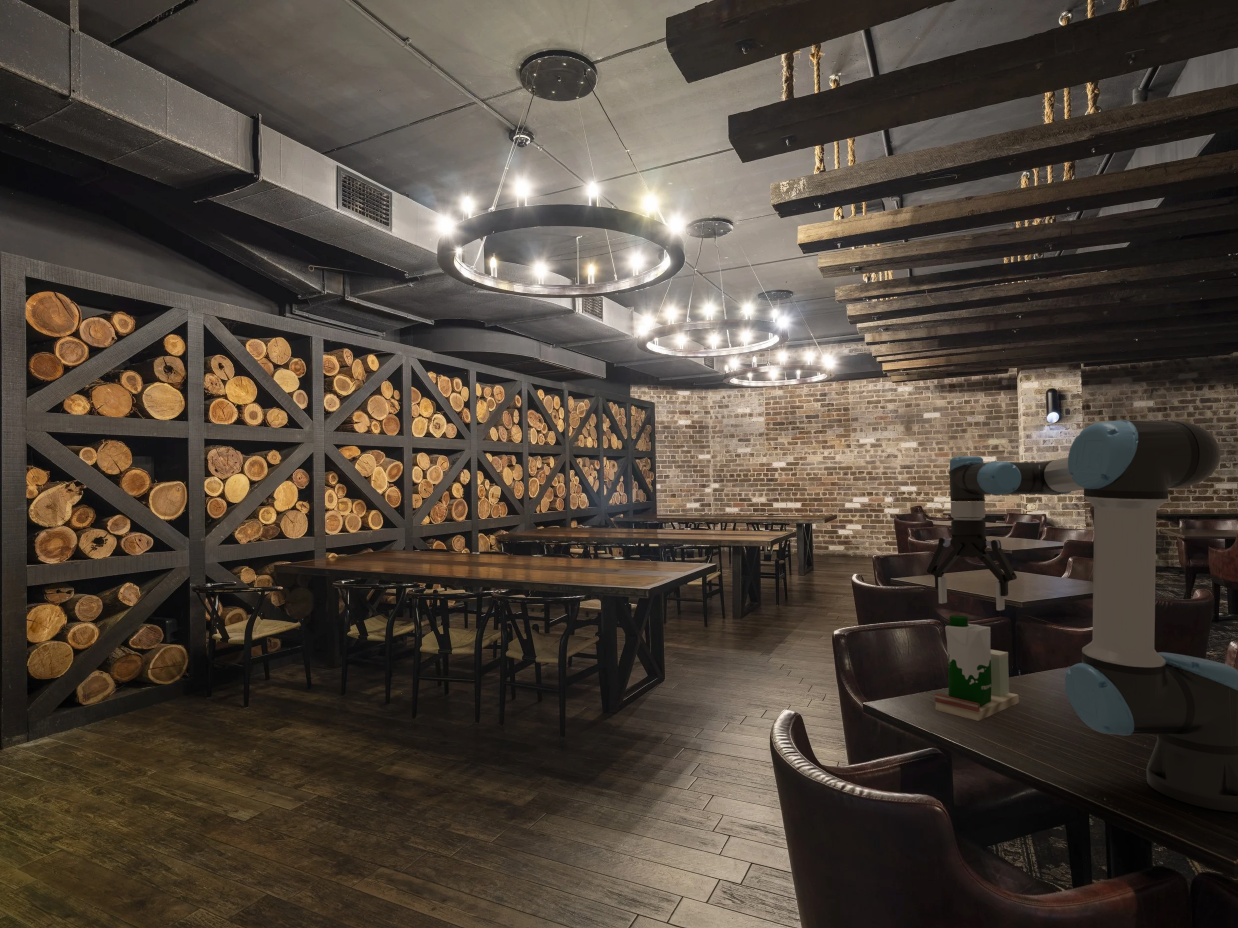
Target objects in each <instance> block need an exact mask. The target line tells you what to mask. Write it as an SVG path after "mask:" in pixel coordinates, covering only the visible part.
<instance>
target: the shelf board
mask: <svg viewBox="0 0 1238 928" xmlns="http://www.w3.org/2000/svg"><path fill="white" fill-rule="evenodd" d="M1019 696H1020V695H1019V694H1017V693H1011V692H1009V694H1006V695H1004V696H1001V697H999V696H994V695H991V701H990V702H989V703H987V704H985V705H983V706H981V707H980V704H979V703H975V702H971V701H967V700H962V699H958V698H954V697H950V696H949V695H944V694H940V693H935V694H934V698H935V700H934V701H935V703H934V704H935V705H934V706H935V708H934V709H935V711H937V712H938V711H939V712H942V713H945V714H950V715H953V716H958V717H962V718H965V719H969V720H973V721H978V722H979V721H981V720H984V719H986V718H988V717H991V716H992V715H995V714H998V713H999V712H1002V711H1003V710H1006V709H1008V708H1010V707H1012V706H1013V707H1014V706H1015V705H1017V704H1019V703H1020V698H1019Z"/></svg>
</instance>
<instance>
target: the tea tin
mask: <svg viewBox="0 0 1238 928" xmlns="http://www.w3.org/2000/svg"><path fill="white" fill-rule="evenodd" d="M1009 677H1010V675H1009V652H1008V651H1002V650H997V649H991V680H992V686H991V695H994V696H999V697H1001V696H1004V695H1006V694H1009V693H1010V679H1009Z"/></svg>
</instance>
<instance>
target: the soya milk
mask: <svg viewBox="0 0 1238 928" xmlns="http://www.w3.org/2000/svg"><path fill="white" fill-rule="evenodd" d="M944 629H945V638H946V644H947V645H946V647H947V649H946V651H947V673H948V674H947V679H948V680H947V681H948V682H947V684H948V696H950V697H954V698H958V699H962V700H967V701H971V702H975V703H979V704H980V707H981V706H983V705H985V704H987V703H989V702H990V701H991V686H992V680H991V650H992V649H991V648H992V647H991V626H984V625H980V624H972V623H969V618H968V617H967V616H964V615H949V624H946V626H944Z"/></svg>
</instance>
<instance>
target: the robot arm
mask: <svg viewBox="0 0 1238 928" xmlns="http://www.w3.org/2000/svg"><path fill="white" fill-rule="evenodd" d="M949 460H950V461H949V470H948V476H949V478H948V479H949V494H950V495H949V496H950V497H949V498H950V517H951V518H953V519H952V520H951V522H950V525H951V526H950V529H951V538H948V537H940V538H938V545H937V548H936V550H935V552H934V553H933V557H932V559H931V561H930V563H929V565H928V567H927V569H926V574H929V575H932V576H934V588H935V590H938V604H941V605H942V604H946V603H948V597H947V595H948V593H947V592H948V591H947V585H948V584H947V576H945V573H946V572H947V571H948V570H949V569H950V567H951V566H952V565H953V564H954V563H955V562H956V561H957V560H958V559H959V558H960V557H961V558H972V559H974V558H975V559H976V558H978V560H979V561H981V563H983V564H984V565H985V566H986V568H987V569H988V570H989V571H990V572H991V573H992V575H994V577H995V578H996V579H997V580H998V581H996V582H995V601H996V602H995V604H996V605H995V608H996V611H1004V610H1006V608H1005V607H1006V604H1005V603H1006V602H1005V597H1007V596H1008V595H1009V582H1011V581H1014V580H1017V579H1018V578H1017V577H1018V576H1017V574H1016V572H1015V571H1014V568H1013V567H1012V565H1011V563H1010V562H1009V559H1008V558H1007V557H1006V554H1005V552H1004V551H1003V549H1002V543H1001V540H1000V539H992V540H987V538H986V535H987V530H986V529H987V526H986V524H987V523H986V521H985V520H984V519H985V517H986V503H985V501H986V499H985V495H991V496H1003V495H1005V496H1007V495H1008V496H1009V495H1010V496H1011V495H1017V496H1018V495H1023V496H1024V495H1044V496H1045V495H1046V496H1047V495H1048V496H1049V495H1050V496H1059V495H1067V494H1071V492H1076V491H1083V498H1084V499H1085V500H1086V501H1088V502H1089V504H1091V505H1092V507H1093V517H1094V518H1093V575H1092V576H1093V577H1092V578H1093V579H1092V580H1093V582H1092V584H1093V585H1092V640H1091V641H1090V642H1088V644H1085V646H1083V647H1082V648H1081V662H1079V663H1075V664H1074V665H1071V666H1070V667H1069V669H1068V670H1067V671H1066V672H1065V673H1066V674H1065V676H1064V677H1065V678H1064V685H1065V687H1064V688H1065V692H1066V695H1067V698H1068V701H1069V704H1070V705H1071V707H1072V709H1073V710H1074V711H1075V713H1076V715H1077V716H1078V718H1079V719H1080V720H1081V721H1082V722H1083V723H1084V724H1085V725H1086V726H1087V727H1089V728H1090V729H1092V730H1093V731H1096V732H1097V733H1100V734H1104V735H1119V736H1124V737H1126V736H1127V737H1128V736H1131V735H1133V736H1134V735H1135V736H1137V735H1156V738H1157V739H1156V742H1155V746H1154V748H1153V750H1152V753H1151V755H1150V758H1149V760H1148V763H1147V766H1146V782H1147V784H1148V785H1149V786H1150V787H1151V788H1152V789H1153V790H1155V791H1157V792H1158V793H1159V794H1162V795H1164V796H1166V797H1169V798H1171V799H1174V800H1176V801H1180V802H1182V803H1186V804H1188V805H1191V806H1197V807H1200V808H1204V809H1208V810H1209V809H1210V810H1215V811H1221V812H1227V813H1229V812H1230V813H1238V669H1236V667H1233V666H1231V665H1229V664H1225V663H1223V662H1218V661H1215V660H1211V659H1210V660H1209V659H1206V658H1202V657H1195V656H1190V655H1185V654H1179V653H1172V652H1165V651H1161V652H1160V651H1159V652H1157V650H1156V649H1155V635H1156V633H1155V623H1156V620H1155V619H1156V562H1157V561H1156V560H1157V559H1156V558H1157V557H1156V554H1157V545H1156V544H1157V511H1158V509H1159V508H1160V507H1161V506H1163V505H1164V504H1165V503H1167V502H1168V501H1169V489H1173V488H1174V489H1176V488H1178V489H1179V488H1185V487H1191V486H1194V485H1197V484H1200V483H1203V482H1204V481H1206V480H1208V478H1209V477H1210V476H1212V475H1213V474H1214V472H1215V471H1216V470H1217V468H1218V466H1219V464H1220V460H1221V449H1220V446H1219V443H1218V441H1217V440H1216V437H1214V436H1213V434H1211V433H1210V432H1209V431H1208V430H1206V429H1205V428H1204V427H1201V426H1199V425H1197V424H1195V423H1191V422H1187V421H1186V422H1185V421H1182V420H1181V421H1180V420H1166V421H1164V420H1161V421H1160V420H1159V421H1158V420H1156V421H1155V420H1124V419H1123V420H1122V419H1121V420H1120V419H1118V420H1109V421H1098V422H1095V423H1092V424H1090V425H1088V426H1086V427H1085V428H1083V429H1082V430H1081V431H1080V433H1079V435H1076V437H1075V438H1074V440H1073V441H1072V443H1071V446H1070V448H1069V451H1068V456H1067V457H1063V458H1058V459H1053V460H1048V461H1040V462H1019V461H1018V462H1017V461H1016V462H1015V461H1013V462H1012V461H1011V462H1008V461H1003V460H1002V461H1001V460H999V461H998V460H997V461H996V460H995V461H991V462H984V458H983V457H981V456H978V455H974V456H971V455H966V456H954V457H952V458H950V459H949ZM950 545H951V547H952V548H953V549H952V550H951V552H950V553H949V555H948V556H946V557H947V558H945V560H944V561H943V562H942V559H943V558H944V555H945V554H946V552H947V549H948V548H949V547H950ZM987 547H989V549H991V550H992V553H993V555H994V557H995V559H996V561H997V562H998V564H999V566H998V565H997V563H996V562H995V561H994V560H993V559H992V558H991V556H990V554H989V553H988V552H987V550H986V549H987ZM941 562H942V563H941ZM1000 567H1001V568H1000Z"/></svg>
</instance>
